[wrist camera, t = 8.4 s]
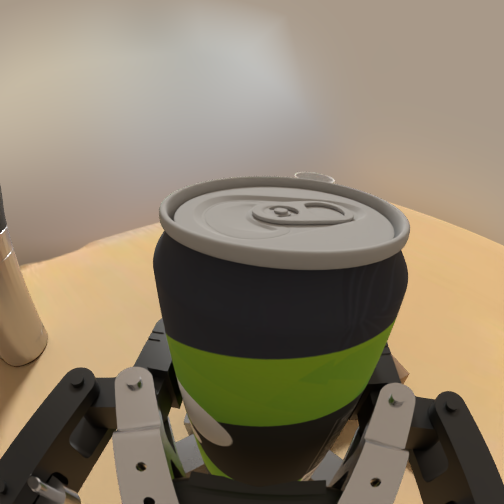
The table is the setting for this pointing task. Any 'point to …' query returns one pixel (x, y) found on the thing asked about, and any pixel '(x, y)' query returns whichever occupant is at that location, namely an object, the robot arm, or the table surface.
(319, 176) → the plastic cup
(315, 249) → the beverage can
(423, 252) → the table surface
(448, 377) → the table surface
